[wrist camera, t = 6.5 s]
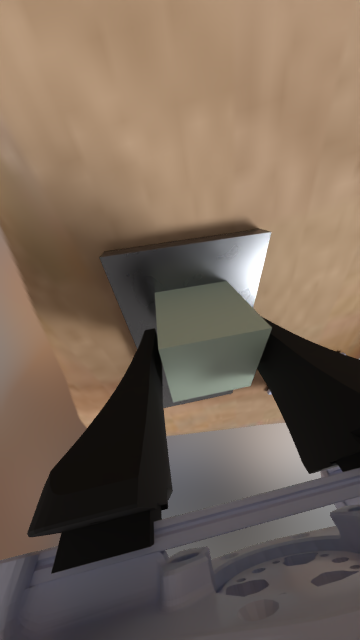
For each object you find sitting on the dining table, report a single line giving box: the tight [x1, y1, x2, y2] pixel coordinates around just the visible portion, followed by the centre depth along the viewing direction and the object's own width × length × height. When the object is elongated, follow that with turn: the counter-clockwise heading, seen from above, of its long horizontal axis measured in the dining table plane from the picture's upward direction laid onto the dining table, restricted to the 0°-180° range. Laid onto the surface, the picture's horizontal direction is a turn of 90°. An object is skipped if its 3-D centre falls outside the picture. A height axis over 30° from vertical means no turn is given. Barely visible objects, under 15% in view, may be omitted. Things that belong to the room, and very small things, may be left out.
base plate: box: [99, 229, 271, 408], centre depth 14 cm, size 10×20×4 cm, turn 6°
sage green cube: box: [155, 281, 272, 402], centre depth 10 cm, size 5×5×5 cm
